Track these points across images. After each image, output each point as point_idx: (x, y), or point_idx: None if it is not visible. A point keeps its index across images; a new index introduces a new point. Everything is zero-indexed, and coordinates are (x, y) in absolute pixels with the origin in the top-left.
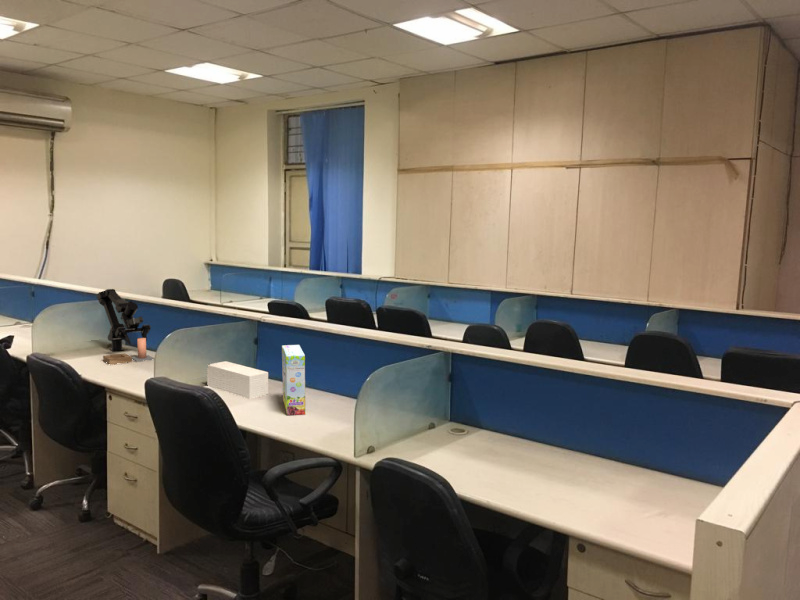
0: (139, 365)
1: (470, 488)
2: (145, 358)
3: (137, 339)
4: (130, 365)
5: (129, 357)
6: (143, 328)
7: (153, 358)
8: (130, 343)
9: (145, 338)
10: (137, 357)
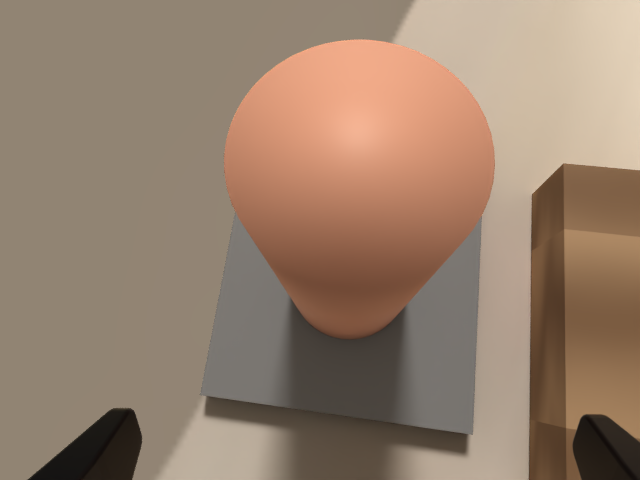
0: (510, 11)
1: None
2: None
3: (489, 172)
4: (596, 63)
5: (594, 167)
6: None
7: None
8: (579, 425)
9: (259, 95)
10: (391, 346)
